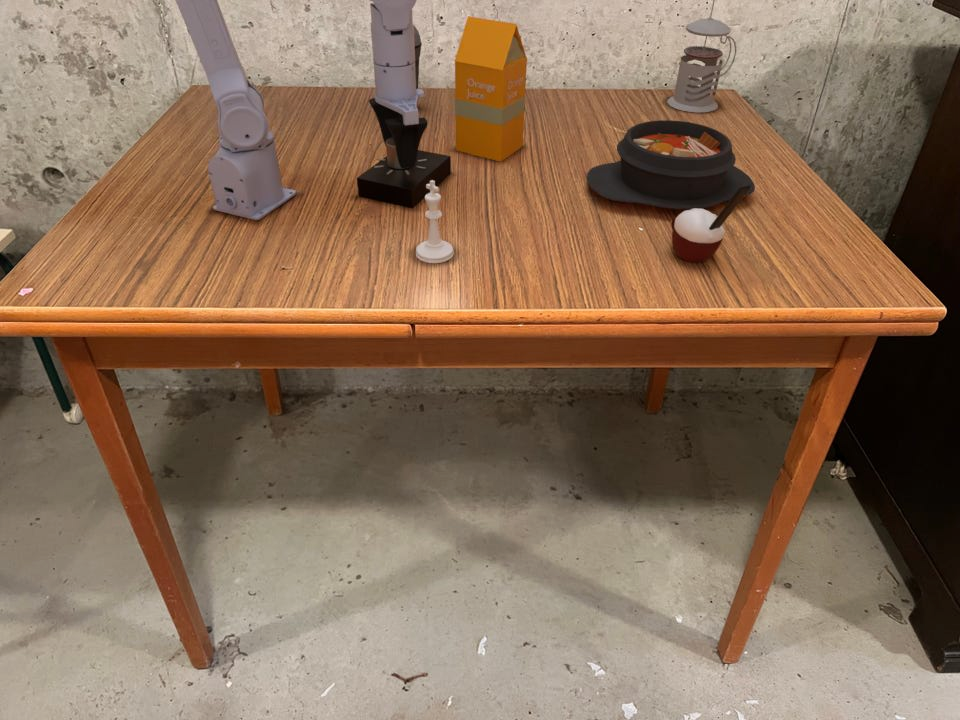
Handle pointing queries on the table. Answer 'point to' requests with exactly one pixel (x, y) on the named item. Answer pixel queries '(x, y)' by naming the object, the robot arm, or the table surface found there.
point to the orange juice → (490, 89)
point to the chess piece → (434, 232)
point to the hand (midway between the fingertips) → (399, 156)
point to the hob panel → (404, 179)
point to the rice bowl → (702, 230)
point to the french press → (700, 69)
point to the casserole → (671, 167)
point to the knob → (392, 154)
